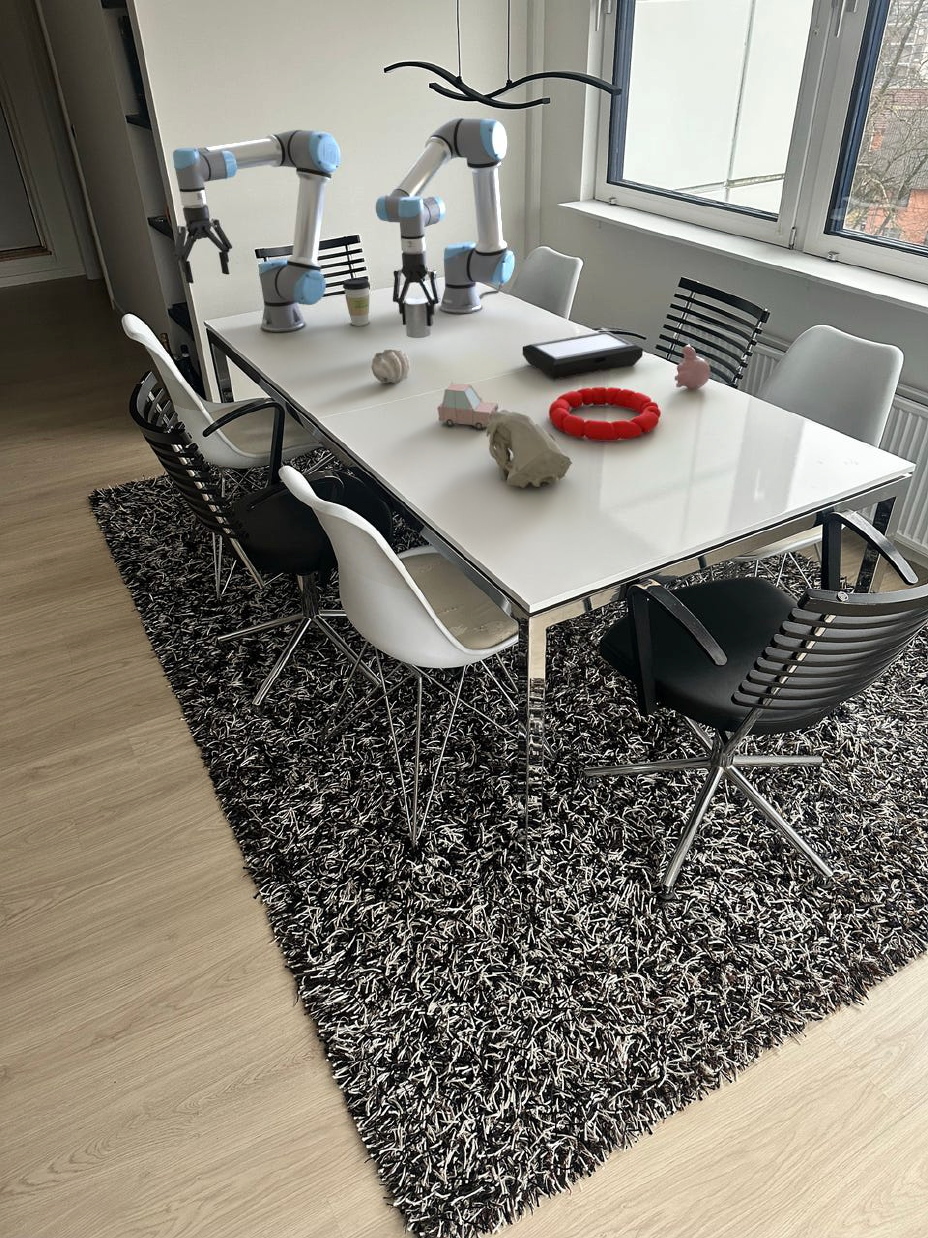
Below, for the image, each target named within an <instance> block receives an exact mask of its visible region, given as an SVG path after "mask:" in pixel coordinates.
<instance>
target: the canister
mask: <svg viewBox="0 0 928 1238" xmlns="http://www.w3.org/2000/svg"><path fill="white" fill-rule="evenodd" d="M403 303H404V308H405V322H406V325H405V335H406V337H408V338H411V339H423V338H428V337H430V336H431V335H432V331H431V326H429V323H428V305H429V302H428V299H427V297H423V296H417V297H416V296H415V297H408V298H405V299H404V302H403Z"/></svg>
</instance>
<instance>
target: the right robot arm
mask: <svg viewBox="0 0 928 1238" xmlns="http://www.w3.org/2000/svg"><path fill="white" fill-rule="evenodd" d="M507 147H508V139H507V134H506V130H505V127H504V126H503V124H502V123H501V122H500V121H498V120H496V119H490V118H462V117H461V118H460V117H459V118H454V119H451V120H449V121H447V122H444V124H442V125H441V126H440V127H438V128H437V129H436V130H435V131H434V132H432V134H431V135H430V136H429V137H428V139H427V140H426V142H425V145H424V149H423V151H422V152H421V154H420V155H419V156H418V158H417V159H416V160H415V161H414V163H412V165H411V167H410V168H409V170H408V171H407V172H406V173H405V175H404V176H403V177H402V179H401V180H400V181H399V183H398V184H397V185H396V186H395V188H394V189H393V190H392V192H391V193H390V195H387V194H386V195H381V196H379V197H378V198H377V200H376V203H375V214H376V216H377V218H378V220H380V221H382V222H388V223H399V230H400V247H401V251H402V253H401V263H402V268H400V269H399V268H395V270H393V272H392V273H393V277H394V281H393V282H394V283H393V291H392V292H393V293H392V302H393V303H397V304H398V313H399V314H400V315H401V316H402V318H401V319H402V325H403V326H406V322H405V308H404V300H406V296H407V293H408V291H409V288H410V285H411V284H413V283H416V284H418V285H420V287H421V288H422V291H423V293H424V295H425V298H427V299H428V302H429V305H428V323H429V326H430V327H432V326H433V325H434V316H435V315H436V305H437V304H439V303H440V309H441V311H442V312H445V313H449V314H456V315H457V314H458V315H459V314H470V313H475V312H477V311H479V310H481V308H482V301H481V298H482V297H483V296H485V295H488V294H495V293H498V292H500V291H501V289H502V285H505V284H507V283H508V282H509V280H510V279H511V276H512V275H513V271H514V268H515V255H514V252H513V251H512V250H508V243H507V242H506V240H504V239H503V228H502V216H501V215H502V213H501V202H500V201H501V199H500V188H499V187H500V185H499V172H498V171H499V170H498V169H499V167H500V165H501V164H502V159H503V158H504V157H505V156H506V153H507ZM456 158H462V159H463V158H464V159H466V166H467V168H468V169H470V171H471V172H472V173H471V174H472V184H473V196H474V205H475V219H476V229H477V240H478V242H476V243H475V242H474V241H464V242H458V243H453V244H449V245H447V246H446V247H445V248H444V250H443V269H444V270H443V271H444V291H443V294H442V299H441V295H440V291H439V286H438V282H437V270H435V269H432V270H430V269H429V268H428V267H427V255H426V252H425V250H426V236H425V228H426V227H429V226H432V225H436V224H438V223H439V222H441V221H443V219H444V217H445V215H446V206H445V203H444V201H443V200H442V199H441V198H439V197H437V196H428V197H427V198H422V197H421V195H422V194H423V193H424V191H425V190H426V188H427V187H428V185H429V184H430V183H431V181H432V180H433V179H434V177H435V176H436V175H437V173H438V172H439V171H440V169H441V168H442V167H443V166H445V165H448V164H449V163H450V161H451V160H452V159H456ZM402 275H403V276H404V278H405V279H404V283H403V286H402V290H401V292H400V286H401V277H402ZM427 275H428V278H429V281H430V285H431V289H430V287H429V284H428V281H427V279H426V276H427ZM477 283H481V284H482V283H483V284H489V285H490V284H491V285H494V286H495V285H498V289H496V290H491V291H485V292H482V293H481V294H480V295H479V292H478V289H477ZM399 295H400V296H399Z"/></svg>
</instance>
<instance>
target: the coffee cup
mask: <svg viewBox="0 0 928 1238" xmlns="http://www.w3.org/2000/svg"><path fill="white" fill-rule="evenodd" d="M370 287H371V283H370V282H369V279H367V278H365V277H351V278H347V279H345V280H344V281H343V285H342V288H343V290H344V297H345V301H346V305H347V310H348V314H349V318H350V323H351V325H353V326H357V327H359V326H365V325H368V324H369V317H370V316H369V313H370Z"/></svg>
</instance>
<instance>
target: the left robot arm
mask: <svg viewBox="0 0 928 1238" xmlns="http://www.w3.org/2000/svg"><path fill="white" fill-rule="evenodd" d="M172 159H173V168H174V171H175V176H176V180H177V186H178V192H179V196H180V203H181V205H182V206H183V207H182V212H183V219H184V221H185V225H178V226H177V227H176V228H177V236H176V242H175V247H174V253H173V259H174V260H175V261H179V262H180V266H181V271H182V272H183V273H184V276H185V281H186V283H187V284H194V276H193V273H192V272H193V271H192V268H191V262H190V260H188V259H189V256H190V254H191V252H192V249H193V246H194V245H195V243H196V242H197V240H202V239H207V238H208V239H209V240H210V241H211V242H212V243H213V244H214V246H216V247H217V248H218V250H220V251H219V252H218V255H219V261H220V268H221V273H222V274H224V275H230V270H229V264H228V263H229V262H230V258H229V253H230V250H231V249H233V245H232V243H231V241H230V239H229V238H228V237H227V235H226V233H225V232H224V230H223V229H222V226H221V224H220V220H219V219H216V218H212V219H211V220H210V218H211V216H210V211H209V206H208V205H207V204H208V201H207V194H206V187H205V183H207V182H212V181H219V180H227V179H230V178H233V177H235V176H236V174H237V172H238V171H237V170H243V169H250V168H256V167H263V166H271V167H273V168H279V167H287V168H294V169H295V174H296V175H297V177H298V179H299V185H298V195H297V206H296V213H295V214H296V215H295V224H294V234H293V244H292V254H291V256H290V257H288V258H275V259H270V260H266V261H263V262H261V263H260V264H259V265H258V276H259V281H260V287H261V292H262V293H261V294H262V299H263V313H262V318H261V326H262V330H264V331H265V332H271V333H286V332H293V331H296V330H297V331H298V330H300V329H302V328H304V326H305V319H304V317H303V314H302V312H301V310H300V307H299V306H298V305H306V306H312V305H316V304H317V303H318V302H319V301H321V299H322V298H323V297H324V295H325V292H326V287H327V283H326V282H327V281H326V279H325V277H324V275H323V273H321V271H322V265H321V263H320V262H319V260H318V258H319V249H320V240H321V239H320V238H321V229H322V220H323V213H324V202H325V194H326V186H327V184H329V182H331V181H332V173H333V172H335V171H336V170H337V169H338V167H339V166H340V163H341V149H340V146H339V144H338V142H337V140H336V138H335V137H334V136H333V135H332V134H330V133H328V132H325V131H320V130H306V129H292V130H288V131H283V132H279V133H274V134H267V135H266V136H265V137H264V138H263V139H255V140H249V141H242V142H235V143H227V144H226V143H225V144H219V145H212V146H211V145H210V146H206V147H197V148H196V147H181V148H176V149H174V150H173V151H172ZM212 228H213V230H214V232H215V233H216V235H217V236H216V235H215V233H213V231H212V230H211V229H212Z"/></svg>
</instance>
